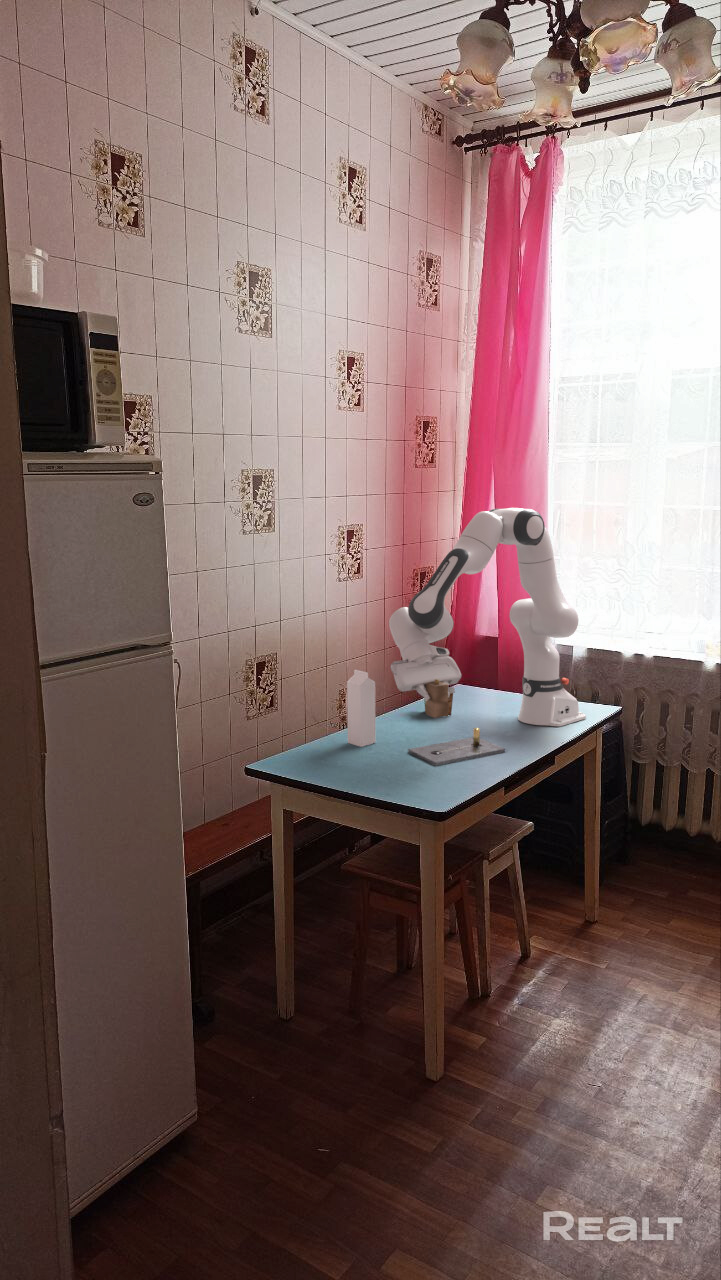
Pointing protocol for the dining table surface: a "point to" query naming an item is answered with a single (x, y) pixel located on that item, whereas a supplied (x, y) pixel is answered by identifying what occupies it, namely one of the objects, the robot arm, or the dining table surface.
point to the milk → (361, 709)
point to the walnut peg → (437, 699)
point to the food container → (450, 699)
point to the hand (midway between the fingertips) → (438, 698)
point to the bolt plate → (456, 750)
